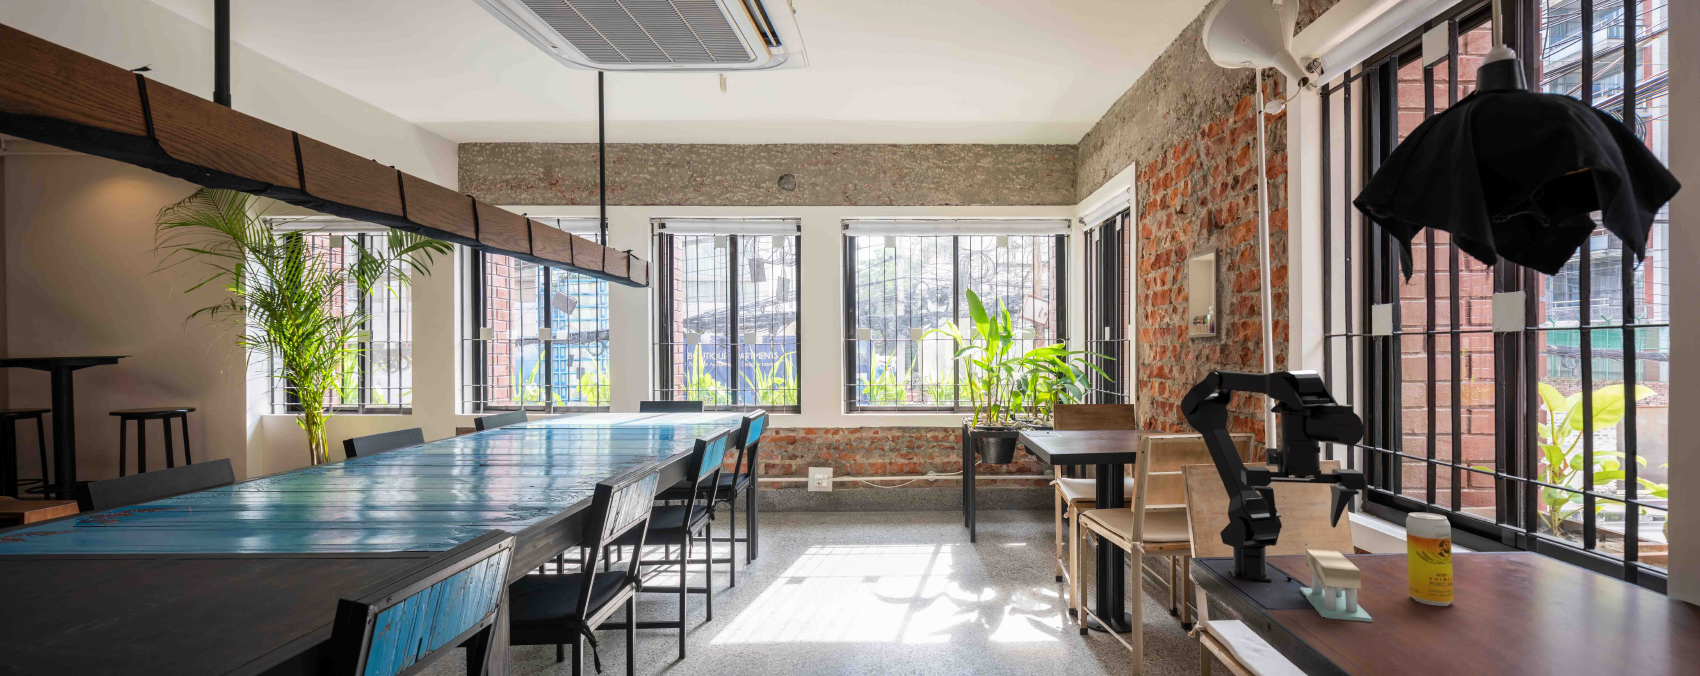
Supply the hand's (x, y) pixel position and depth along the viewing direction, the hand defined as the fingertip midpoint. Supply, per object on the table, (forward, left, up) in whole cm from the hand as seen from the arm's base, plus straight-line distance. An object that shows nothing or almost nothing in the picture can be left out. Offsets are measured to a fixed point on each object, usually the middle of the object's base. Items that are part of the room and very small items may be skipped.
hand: (1303, 525), depth 127 cm
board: (+3, +3, -8) cm, 9 cm away
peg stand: (+3, +3, -13) cm, 14 cm away
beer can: (-4, +20, -13) cm, 24 cm away
